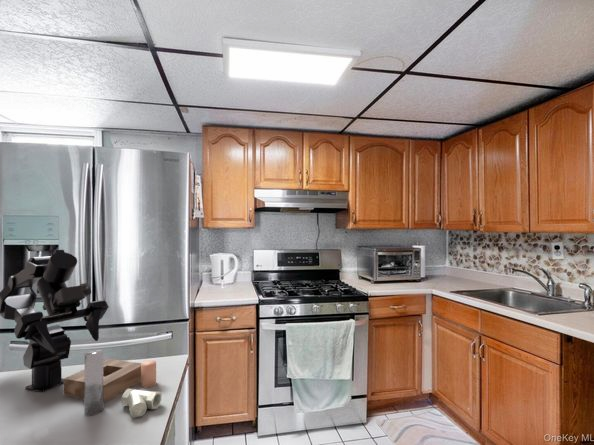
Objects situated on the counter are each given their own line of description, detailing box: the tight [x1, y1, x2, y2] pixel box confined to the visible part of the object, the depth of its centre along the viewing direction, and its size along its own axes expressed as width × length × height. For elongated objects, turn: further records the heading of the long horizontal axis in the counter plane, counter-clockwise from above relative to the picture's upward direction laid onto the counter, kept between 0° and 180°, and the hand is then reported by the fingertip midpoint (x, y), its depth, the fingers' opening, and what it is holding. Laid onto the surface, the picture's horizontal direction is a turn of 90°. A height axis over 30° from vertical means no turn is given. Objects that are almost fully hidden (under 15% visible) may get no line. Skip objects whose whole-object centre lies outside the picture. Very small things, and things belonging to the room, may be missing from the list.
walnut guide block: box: [63, 358, 143, 403], centre depth 86 cm, size 13×13×4 cm
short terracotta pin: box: [140, 360, 157, 389], centre depth 86 cm, size 4×4×6 cm
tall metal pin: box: [84, 349, 104, 416], centre depth 74 cm, size 4×4×13 cm
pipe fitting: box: [121, 388, 162, 418], centre depth 74 cm, size 8×4×7 cm
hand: (77, 345), depth 78 cm, fingers open, 9 cm apart
